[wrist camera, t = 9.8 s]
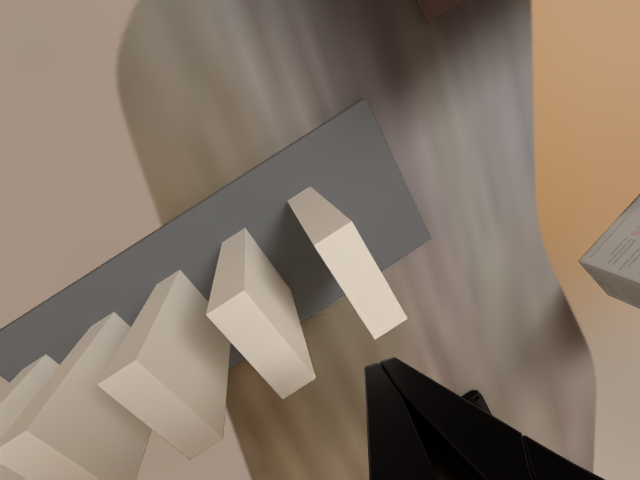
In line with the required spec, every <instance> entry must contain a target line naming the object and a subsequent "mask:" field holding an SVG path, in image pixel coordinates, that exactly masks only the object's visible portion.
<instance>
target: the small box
mask: <svg viewBox="0 0 640 480" xmlns="http://www.w3.org/2000/svg"><path fill="white" fill-rule="evenodd" d="M579 262H580V264H581V265H582V266H583V267H584V268H585V269H586V271H587V272H588V273H589V274H590V275H591V276H592V277H593V278H594V280H595V281H596V282H597V283H598V284H599V285H600V286H601V288H602V289H603V290H604V291H605V292H606V293H607V294H608V295H609V296H612V297H614V298H617V299H619V300H621V301H624V302H626V303H628V304H630V305H633V306H635V307H637V308H640V194H639V196H638V197H637V198H636V199H635V200H634V201H633V202H632V203H631V204H630V205H629V207H628V208H627V209H626V210H625V211H624V212H623V213H622V214H621V215H620V216H619V217H618V218H617V219H616V221H615V222H614V223H613V224H612V225H611V226H610V227H609V228H608V229H607V230H606V231H605V232H604V234H603V235H602V236H601V237H600V238H599V239H598V240H597V241H596V242H595V243H594V244H593V246H592V247H591V248H590V249H589V250H588V251H587V252H586V253H585V254H584V256H583V257H582V258H581V259H580V260H579Z"/></svg>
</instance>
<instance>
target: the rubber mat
mask: <svg viewBox="0 0 640 480" xmlns="http://www.w3.org/2000/svg"><path fill="white" fill-rule="evenodd" d="M308 187H312V188H313V189H314V190H315V191H316V192H318V193H319V194H320V195H321V196H322V197H324V198H325V199H326V200H327V201H328V202H330V203H331V204H332V205H333V206H334V207H336V208H337V209H338V210H339V211H340V212H342V213H343V214H344V215H345V216H346V217H348V218H349V219H350V220H351V221H352V222H353V224H354V226H355V227H356V229H357V231H358V233H359V234H360V236H361V238H362V240H363V241H364V243H365V245H366V247H367V248H368V250H369V252H370V254H371V255H372V257H373V259H374V261H375V262H376V264H377V266H378V268H379V269H380V271H382V270H384V269H385V268H387V267H388V266H390V265H391V264H393V263H394V262H396V261H398V260H399V259H401V258H402V257H404V256H405V255H407V254H408V253H410V252H412V251H413V250H415V249H416V248H418V247H419V246H421V245H422V244H424V243H425V242H427V241H429V240H430V239H431V237H430V235H429V232H428V230H427V228H426V226H425V224H424V222H423V220H422V217H421V215H420V213H419V211H418V209H417V207H416V205H415V202H414V200H413V198H412V196H411V194H410V192H409V190H408V187H407V185H406V183H405V181H404V179H403V177H402V175H401V172H400V170H399V168H398V166H397V164H396V162H395V160H394V158H393V155H392V153H391V151H390V149H389V147H388V145H387V143H386V140H385V138H384V136H383V134H382V132H381V130H380V128H379V125H378V123H377V121H376V119H375V117H374V115H373V113H372V110H371V108H370V106H369V104H368V102H367V100H366V98H364V99H361V100H359V101H358V102H356V103H355V104H353V105H352V106H350V107H348V108H347V109H345V110H344V111H342V112H341V113H339V114H337V115H336V116H334V117H333V118H331V119H330V120H328V121H326V122H325V123H323V124H322V125H320V126H319V127H317V128H316V129H314V130H312V131H311V132H309V133H308V134H306V135H305V136H303V137H301V138H300V139H298V140H297V141H295V142H294V143H292V144H290V145H289V146H287V147H286V148H284V149H283V150H281V151H279V152H278V153H276V154H275V155H273V156H272V157H270V158H268V159H267V160H265V161H264V162H262V163H261V164H259V165H257V166H256V167H254V168H253V169H251V170H250V171H248V172H246V173H245V174H243V175H242V176H240V177H239V178H237V179H235V180H234V181H232V182H231V183H229V184H228V185H226V186H224V187H223V188H221V189H220V190H218V191H217V192H215V193H214V194H212V195H210V196H209V197H207V198H206V199H204V200H203V201H201V202H199V203H198V204H196V205H195V206H193V207H192V208H190V209H188V210H187V211H185V212H184V213H182V214H181V215H179V216H177V217H176V218H174V219H173V220H171V221H170V222H168V223H166V224H165V225H163V226H162V227H160V228H159V229H157V230H156V231H154V232H152V233H151V234H149V235H148V236H146V237H145V238H143V239H141V240H140V241H138V242H137V243H135V244H133V245H132V246H130V247H129V248H127V249H126V250H124V251H122V252H121V253H119V254H118V255H116V256H115V257H113V258H112V259H110V260H108V261H107V262H105V263H104V264H102V265H101V266H99V267H97V268H96V269H94V270H93V271H91V272H90V273H88V274H86V275H85V276H83V277H82V278H80V279H79V280H77V281H75V282H74V283H72V284H71V285H69V286H68V287H66V288H65V289H63V290H61V291H60V292H58V293H57V294H55V295H53V296H52V297H50V298H49V299H47V300H46V301H44V302H43V303H41V304H39V305H38V306H36V307H35V308H33V309H31V310H30V311H29V312H27V313H25V314H24V315H22V316H20V317H19V318H17V319H16V320H14V321H13V322H11V323H10V324H8V325H6V326H5V327H3V328H2V329H0V376H1V377H3V378H4V379H6V380H7V381H8V382H11V381H12V380H13V379H14V378H15V377H16V376H17V375H18V373H19V372H20V371H21V370H22V369H24V368H25V367H27V366H28V365H30V364H31V363H33V362H35V361H36V360H38V359H39V358H41V357H42V356H44V355H45V354H46V355H48V356H49V357H50V358H52V359H53V360H54V361H55V362H57V363H58V364H59V365H60V364H61V363H62V362H63V360H64V359H65V358H66V357H67V355H68V354H69V353H70V352H71V350H72V349H73V348H74V347H75V345H76V344H77V343H78V342H79V340H80V339H81V338H82V337H83V335H84V334H85V333H86V332H87V331H88V329H89V328H90V327H91V326H92V325H94V324H95V323H97V322H99V321H100V320H102V319H103V318H105V317H106V316H108V315H110V314H111V313H113V312H115V313H116V314H117V315H118V316H119V317H120V318H121V319H122V320H124V321H125V322H126V323H127V324H128V325H129V326H130V327H132V325H133V323H134V322H135V320H136V318H137V316H138V315H139V313H140V311H141V310H142V308H143V306H144V305H145V303H146V301H147V300H148V298H149V296H150V295H151V293H152V291H153V290H154V288H155V286H156V284H158V283H160V282H161V281H163V280H164V279H166V278H167V277H169V276H171V275H172V274H174V273H175V272H177V271H178V270H181V271H182V273H183V274H184V275H185V276H186V277H187V278H188V279H189V280H190V282H191V283H192V284H193V285H194V286H195V287H196V288H197V290H198V291H199V292H200V293H201V294H202V295H203V296H204V297H205V299H206V300H207V301H208V302H209V299H210V294H211V290H212V285H213V281H214V276H215V272H216V267H217V263H218V258H219V254H220V249H221V245H222V242H224V241H225V240H227V239H228V238H230V237H231V236H233V235H235V234H236V233H238V232H239V231H241V230H242V229H244V228H246V230H247V231H248V232H249V234H250V235H251V236H252V238H253V239H254V240H255V242H256V243H257V245H258V246H259V247H260V249H261V250H262V251H263V253H264V254H265V255H266V257H267V258H268V260H269V261H270V262H271V264H272V265H273V266H274V268H275V269H276V270H277V272H278V273H279V275H280V276H281V277H282V279H283V280H284V281H285V283H286V284H287V285H288V287H289V288H290V289H291V293H292V296H293V300H294V303H295V307H296V310H297V314H298V317H299V321H300V323H302V322H303V321H305V320H306V319H308V318H309V317H311V316H312V315H314V314H316V313H317V312H319V311H320V310H322V309H323V308H325V307H326V306H328V305H329V304H331V303H333V302H334V301H336V300H337V299H339V298H340V297H342V296H343V295H345V293H344V291H343V290H342V288H341V287H340V285H339V284H338V282H337V281H336V279H335V277H334V276H333V274H332V273H331V271H330V270H329V268H328V267H327V265H326V264H325V262H324V261H323V259H322V257H321V256H320V254H319V253H318V251H317V250H316V248H315V247H314V245H313V243H312V242H311V240H310V238H309V237H308V235H307V233H306V232H305V230H304V228H303V227H302V225H301V223H300V222H299V220H298V218H297V217H296V215H295V213H294V212H293V210H292V208H291V207H290V205H289V203H288V202H287V201H288V200H289V199H291V198H292V197H294V196H296V195H297V194H299V193H300V192H302V191H303V190H305V189H307V188H308ZM244 359H246V358H245V357H244V356H243V355H242V354H241V353H240V352H239V351H238V350H237V348H236V347H235V346H234V345H233V344H232V343H231V342H230V354H229V367H228V370H229V369H230V368H232V367H234V366H235V365H237V364H238V363H240V362H241V361H243V360H244Z"/></svg>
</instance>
